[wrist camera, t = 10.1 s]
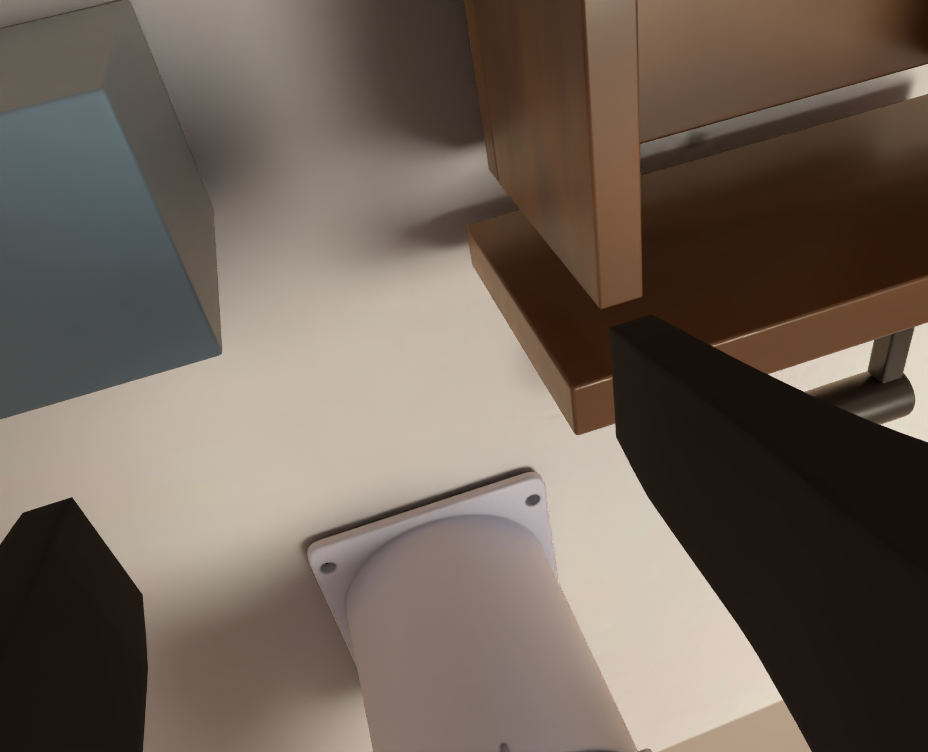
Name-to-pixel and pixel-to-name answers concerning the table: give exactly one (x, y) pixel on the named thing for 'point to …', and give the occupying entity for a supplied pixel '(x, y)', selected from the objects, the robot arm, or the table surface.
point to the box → (96, 215)
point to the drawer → (703, 187)
